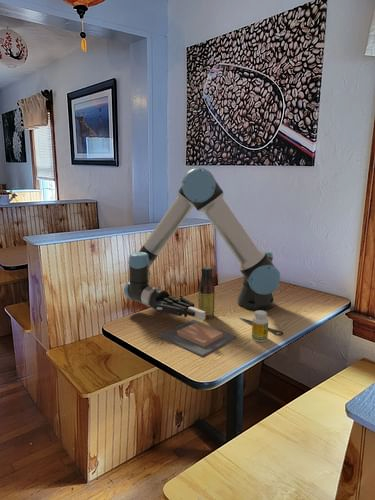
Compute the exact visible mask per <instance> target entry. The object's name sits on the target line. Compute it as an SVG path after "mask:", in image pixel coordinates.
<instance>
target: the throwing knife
mask: <svg viewBox="0 0 375 500" xmlns="http://www.w3.org/2000/svg"><path fill="white" fill-rule="evenodd" d="M238 319H239V320H240V321H243V322H244V323H246V324H248V325H250V326H252V320H250V319H247V318H242V317H238ZM269 332H270V333H271V334H273V335H275V336H278V337H281V336H283V335H284V332H283V330H278V329H274V328H271V327H268V333H269Z"/></svg>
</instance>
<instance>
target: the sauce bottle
mask: <svg viewBox="0 0 375 500" xmlns="http://www.w3.org/2000/svg"><path fill="white" fill-rule="evenodd" d="M212 272H213V267H212V266H209V265H207V266H206V265H205V266H201V280H200V282H199V285H198V300H197V301H198V308H197V309H199V310H202V311H205V319H211V318H214V317H215V307H216V306H215V305H216V304H215V303H216V301H215V298H216V297H215V295H216V291H215V282H214V280H212V278H213V277H212V276H213V275H212V274H213V273H212Z"/></svg>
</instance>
